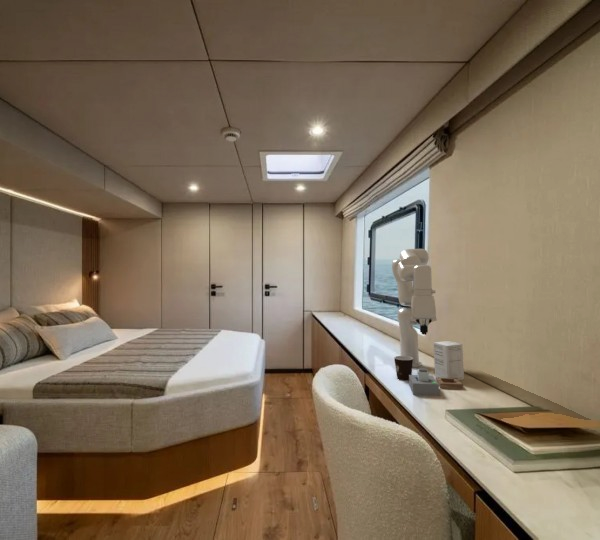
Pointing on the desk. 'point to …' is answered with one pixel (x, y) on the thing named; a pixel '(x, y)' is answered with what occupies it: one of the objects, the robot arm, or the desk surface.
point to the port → (423, 386)
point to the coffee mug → (403, 367)
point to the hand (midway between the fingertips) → (424, 333)
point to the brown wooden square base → (449, 383)
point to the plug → (423, 374)
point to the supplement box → (448, 360)
